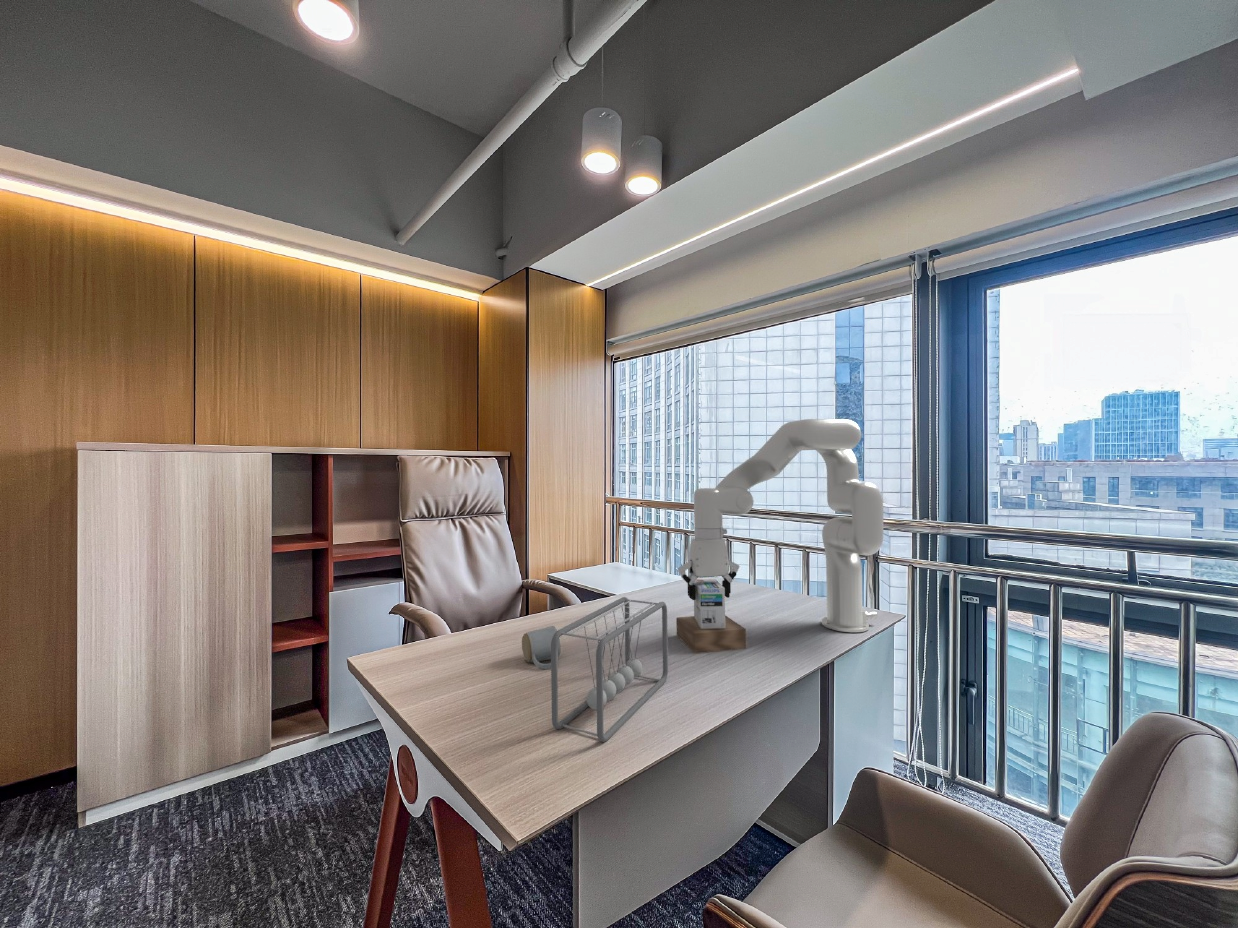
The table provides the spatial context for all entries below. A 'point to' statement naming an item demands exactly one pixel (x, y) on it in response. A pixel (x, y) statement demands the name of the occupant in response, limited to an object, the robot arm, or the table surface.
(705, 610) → the light bulb box
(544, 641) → the ceramic mug
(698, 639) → the walnut block
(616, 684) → the newton's cradle
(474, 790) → the table surface
